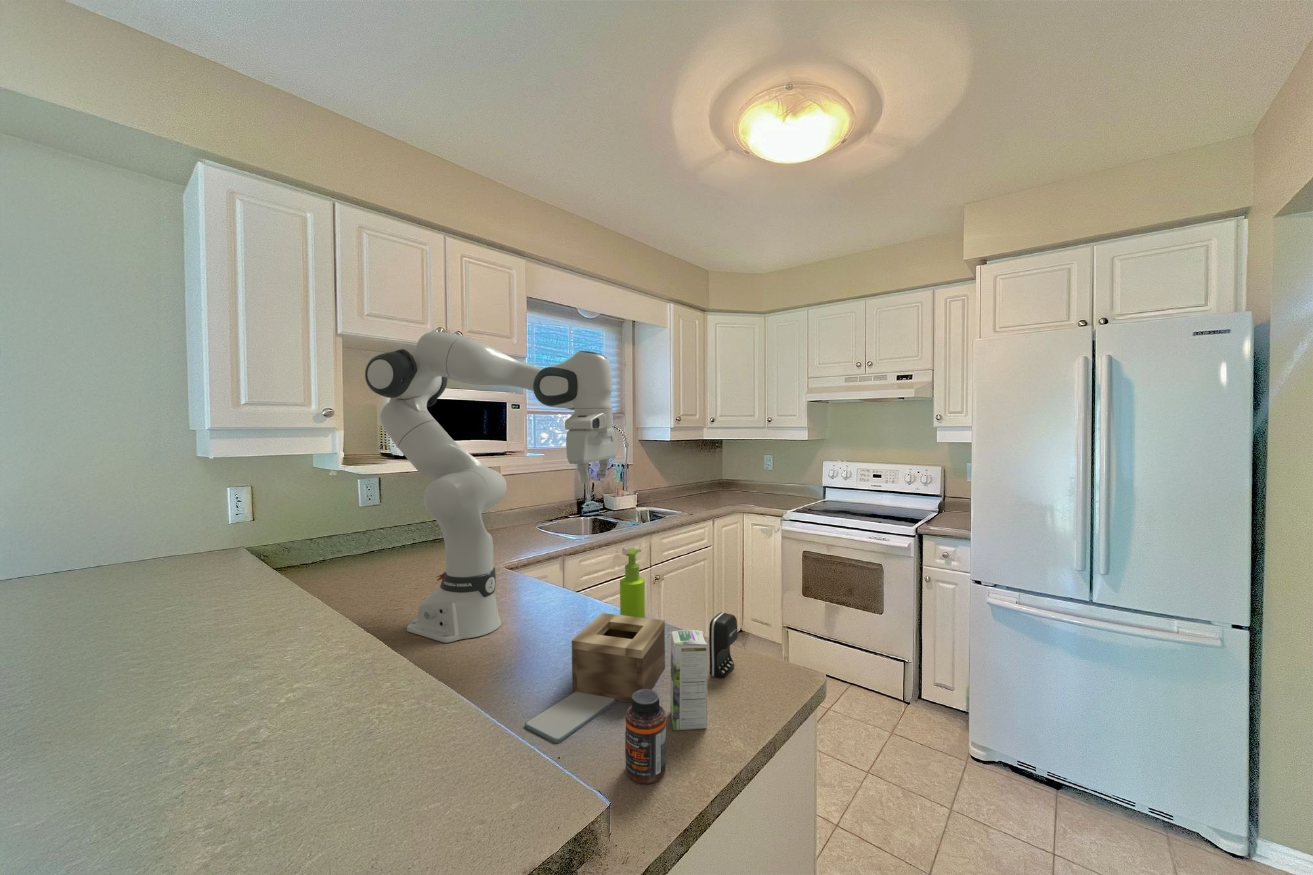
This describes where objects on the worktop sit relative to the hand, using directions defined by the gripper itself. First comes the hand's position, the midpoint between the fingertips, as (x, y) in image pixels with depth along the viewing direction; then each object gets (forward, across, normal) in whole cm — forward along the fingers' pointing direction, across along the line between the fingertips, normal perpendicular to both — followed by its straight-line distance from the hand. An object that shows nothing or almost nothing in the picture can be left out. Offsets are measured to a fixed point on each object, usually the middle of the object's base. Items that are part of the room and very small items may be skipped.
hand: (594, 480), depth 118 cm
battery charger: (+37, +8, +32) cm, 50 cm away
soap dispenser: (+37, -4, +8) cm, 38 cm away
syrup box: (+37, +26, +29) cm, 54 cm away
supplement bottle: (+37, +40, +26) cm, 61 cm away
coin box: (+37, +17, +13) cm, 43 cm away
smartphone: (+38, +30, +9) cm, 49 cm away
